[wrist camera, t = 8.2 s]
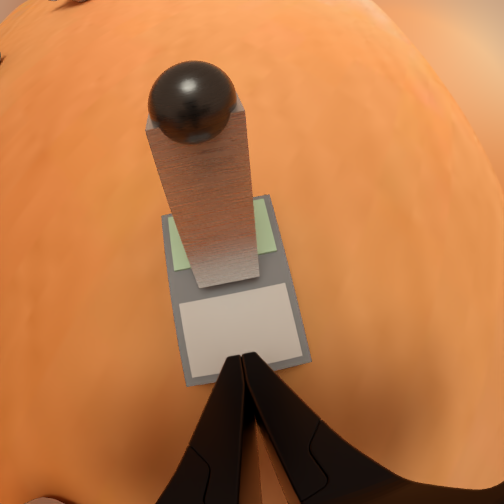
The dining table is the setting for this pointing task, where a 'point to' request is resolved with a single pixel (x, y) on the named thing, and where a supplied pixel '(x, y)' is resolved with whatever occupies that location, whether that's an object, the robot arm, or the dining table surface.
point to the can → (44, 501)
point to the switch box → (236, 307)
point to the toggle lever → (205, 169)
